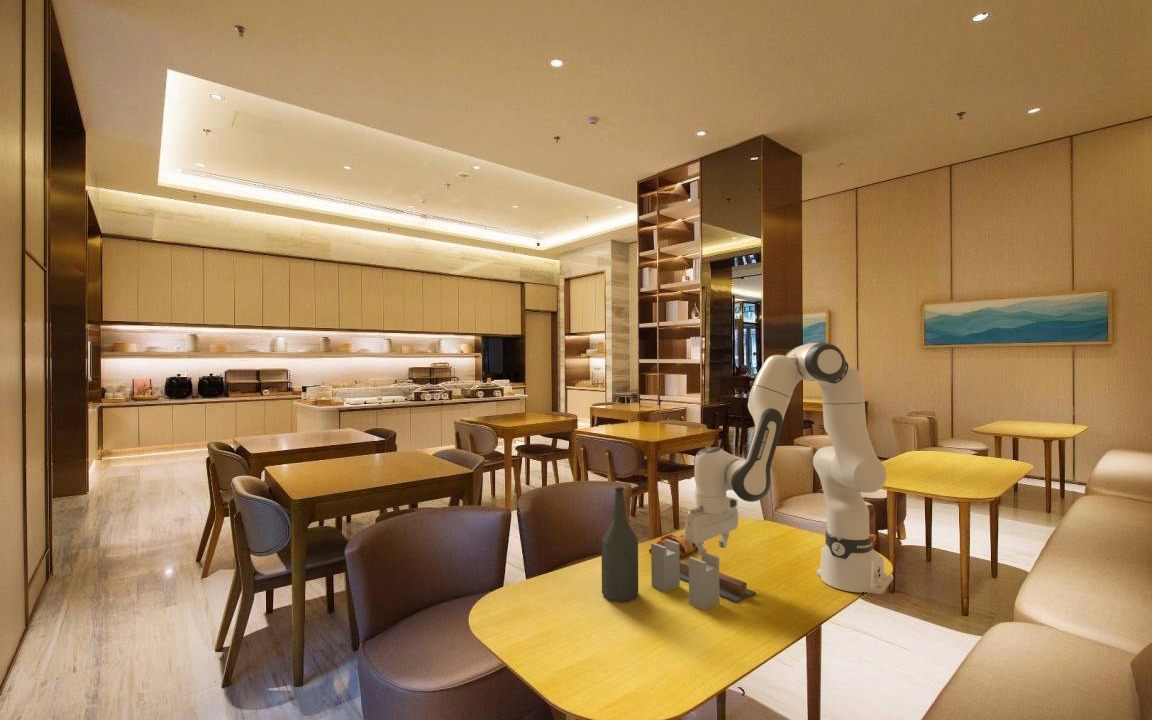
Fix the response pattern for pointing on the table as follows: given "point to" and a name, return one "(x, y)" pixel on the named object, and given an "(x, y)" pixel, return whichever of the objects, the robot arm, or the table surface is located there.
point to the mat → (725, 592)
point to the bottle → (619, 556)
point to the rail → (721, 581)
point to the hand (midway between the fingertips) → (713, 551)
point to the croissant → (684, 545)
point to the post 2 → (704, 581)
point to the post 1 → (665, 565)
